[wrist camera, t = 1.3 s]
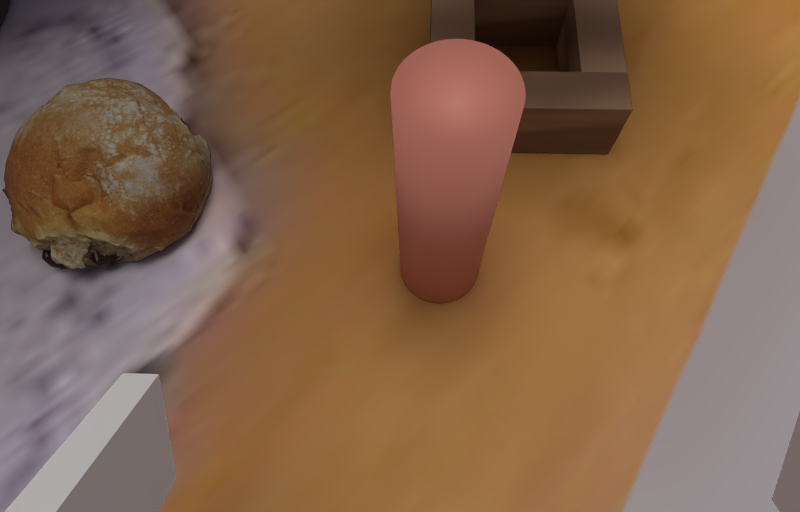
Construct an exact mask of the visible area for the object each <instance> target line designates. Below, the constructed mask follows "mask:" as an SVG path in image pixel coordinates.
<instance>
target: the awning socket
mask: <svg viewBox="0 0 800 512" xmlns="http://www.w3.org/2000/svg"><path fill="white" fill-rule="evenodd" d="M446 39H467V40H473V41H478V42H481V43H484V44H487V45H557V56H558V66H559V72H545V71H519V72H520V74H521V76H522V79H523V81H524V85H525V95H526V97H525V105H524V108H523V112H522V115H521V119H520V123H519V126H518V130H517V133H516V137H515V141H514V144H513V148H512V151H511V152H513V153H579V154H608V153H609V151H610V150H611V148H612V146H613V144H614V142H615V141H616V139H617V137H618V135H619V133H620V132H621V130H622V128H623V126H624V124H625V123H626V121H627V119H628V117H629V115H630V114H631V112H632V110H633V108H632V102H631V95H630V88H629V81H628V74H627V68H626V61H625V54H624V47H623V40H622V34H621V27H620V20H619V13H618V7H617V0H431V20H430V43H432V42H436V41H440V40H446Z"/></svg>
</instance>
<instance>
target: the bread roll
mask: <svg viewBox="0 0 800 512" xmlns="http://www.w3.org/2000/svg"><path fill="white" fill-rule="evenodd" d="M210 156H211V154H210V151H209V148H208V144H207V142H206V141H205V139H203V138H202V137H201V136H200V135H199V134H197V135H196V136H195V135H193V134H192V133H191V132H190V131H189V130H188V127H187V125H186V124H185V122H184V121H183V120H182V119H181V118H180V117H179V115H177V114H176V113H175V112H174V111H173V110H172V109H170V107H169V106H168V105H167V104H166V103H165V102H164V101H163V100H162V99H161V98H160V97H159V96H158V95H156V94H155V93H154V92H152V91H151V90H149V89H148V88H146V87H144V86H143V85H141V84H139V83H135V82H131V81H127V80H120V79H111V78H104V79H97V80H92V81H88V82H86V83H82V84H72V85H67V86H65V87H64V88H63V89H62V90H61V91H59V92H58V93H57V95H56V96H55V97H54V98H53V99H52V100H50V101H48V102H47V103H46V104H45V105H43V106H42V107H41V108H39V109H38V110H37V111H36V112H35V113H34V114H33V115H32V116H31V117H29V118H28V119H27V120H26V121H25V122H24V123H23V125H22V126H21V127H20V129H19V130H18V132H17V134H16V136H15V138H14V140H13V143H12V146H11V150H10V153H9V155H8V158H7V161H6V165H5V175H4V181H5V189H3V191H4V193H5V195H6V196H7V198H8V200H9V204H10V205H11V211H12V217H13V218H12V223H11V230H12V231H13V232H15V233H17V234H20V235H22V236H24V237H26V238H27V239H28V240H29V241H30V242H31V243H32V244H33V246H34V247H36V248H39V249H40V250H42V251H43V253H42V259H43V260H45V261H46V262H47V263H48V264H49V265H51V266H52V267H59V268H61V269H66V268H72V269H75V268H85V267H86V266H85V265H90V266H99V267H101V268H103V269H105V268H108V267H110V266H113V265H116V264H118V263H120V262H133V261H140V260H142V259H144V258H146V257H148V256H150V255H151V254H153V253H155V252H157V251H162V250H163V249H164V248H165V247H167V246H169V245H170V244H171V243H173V242H174V241H176V240H178V239H179V238H181V237H182V236H184V235H185V234H186V233H188V232H189V231H190V230H191V229H192V225H193V224H194V222H195V221H196V220H197V218H198V216H199V215H200V214H201V213H202V208H203V205H204V202H205V200H206V198H207V196H208V193H209V190H210V186H211V182H212V174H211V168H210ZM72 227H73V228H72Z"/></svg>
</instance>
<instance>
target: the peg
mask: <svg viewBox="0 0 800 512" xmlns="http://www.w3.org/2000/svg"><path fill="white" fill-rule="evenodd" d="M390 94H391V111H392V128H393V146H394V163H395V180H396V198H397V215H398V232H399V249H400V267H401V274H402V278H403V280H404V282H405V284H406V286H407V287H408V289H409V290H410V291H411V292H412V293H413V294H415V295H416V296H417V297H419V298H421V299H423V300H425V301H428V302H433V303H447V302H452V301H455V300H457V299H459V298H461V297H462V296H464V295H465V294H466V293H467V292H468V291H469V290H470V289H471V288H472V286H473V285H474V283H475V281H476V278H477V274H478V271H479V267H480V263H481V260H482V256H483V253H484V249H485V245H486V242H487V238H488V234H489V231H490V227H491V224H492V220H493V216H494V213H495V209H496V206H497V202H498V198H499V195H500V191H501V188H502V184H503V180H504V177H505V173H506V169H507V166H508V162H509V159H510V155H511V151H512V148H513V144H514V141H515V137H516V133H517V130H518V126H519V123H520V119H521V115H522V112H523V108H524V105H525V97H526V95H525V85H524V81H523V79H522V76H521V74H520V72H519V70H518V69H517V67H516V66H515V65H514V63H513V62H512V61H511V60H510V59H509V58H508V57H507V56H506V55H504V54H503V53H502V52H500V51H499V50H497V49H495V48H493V47H491V46H489V45H487V44H484V43H481V42H478V41H473V40H467V39H446V40H440V41H436V42H432V43H429V44H427V45H424V46H422V47H420V48H419V49H417V50H415V51H414V52H412V53H411V54H410V55H409V56H407V57H406V58H405V59H404V60H403V62H402V63H401V64H400V65H399V67H398V68H397V70H396V72H395V74H394V77H393V79H392V83H391V92H390Z"/></svg>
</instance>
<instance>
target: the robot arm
mask: <svg viewBox="0 0 800 512" xmlns="http://www.w3.org/2000/svg"><path fill="white" fill-rule="evenodd" d="M8 4H9V0H0V24H1V23H2V21H3V18H4V16H5V13H6V11H7V7H8ZM176 479H177V477H176V471H175V465H174V459H173V454H172V448H171V442H170V436H169V430H168V425H167V419H166V413H165V407H164V401H163V396H162V390H161V384H160V378H159V374H134V373H122V374H121V376H120V377H119V378H118V379H117V380H116V381H115V383H114V384H113V385H112V386H111V387H110V388H109V390H108V391H107V392H106V393H105V394H104V395H103V397H102V398H101V399H100V400H99V401H98V403H97V404H96V405H95V406H94V407H93V408H92V410H91V411H90V412H89V413H88V414H87V415H86V417H85V418H84V419H83V420H82V421H81V422H80V424H79V425H78V426H77V427H76V428H75V430H74V431H73V432H72V433H71V434H70V435H69V437H68V438H67V439H66V440H65V441H64V442H63V444H62V445H61V446H60V447H59V448H58V449H57V451H56V452H55V453H54V454H53V455H52V456H51V458H50V459H49V460H48V461H47V462H46V464H45V465H44V466H43V467H42V468H41V469H40V471H39V472H38V473H37V474H36V475H35V476H34V478H33V479H32V480H31V481H30V482H29V483H28V485H27V486H26V487H25V488H24V489H23V491H22V492H21V493H20V494H19V495H18V496H17V498H16V499H15V500H14V501H13V502H12V503H11V505H10V506H9V507H8V508H7V509H6V510H5V512H159V510H160V509H161V507H162V505H163V503H164V501H165V499H166V497H167V496H168V494H169V492H170V490H171V488H172V486H173V484H174V483H175V481H176ZM772 501H773V502H774V504H775V505H776V506H777V508H778V509H779V511H780V512H800V413H799V416H798V419H797V422H796V425H795V428H794V432H793V435H792V438H791V441H790V444H789V447H788V450H787V453H786V457H785V460H784V463H783V466H782V469H781V472H780V475H779V478H778V482H777V485H776V488H775V491H774V494H773V497H772Z"/></svg>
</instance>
